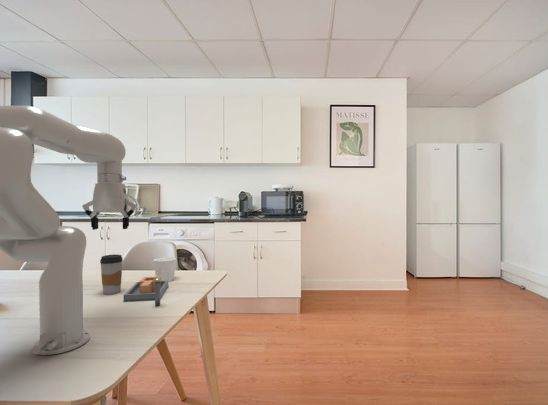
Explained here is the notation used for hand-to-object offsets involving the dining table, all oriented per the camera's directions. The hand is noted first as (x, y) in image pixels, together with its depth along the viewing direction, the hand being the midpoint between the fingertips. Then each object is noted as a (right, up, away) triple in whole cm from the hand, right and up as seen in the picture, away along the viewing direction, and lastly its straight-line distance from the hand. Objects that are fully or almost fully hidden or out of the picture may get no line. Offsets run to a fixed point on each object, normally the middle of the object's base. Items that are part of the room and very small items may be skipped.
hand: (110, 229), depth 105 cm
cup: (+5, -28, +39) cm, 48 cm away
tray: (+5, -28, +19) cm, 34 cm away
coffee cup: (-10, -28, +20) cm, 36 cm away
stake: (+14, -28, +5) cm, 32 cm away
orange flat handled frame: (+6, -27, +19) cm, 34 cm away
